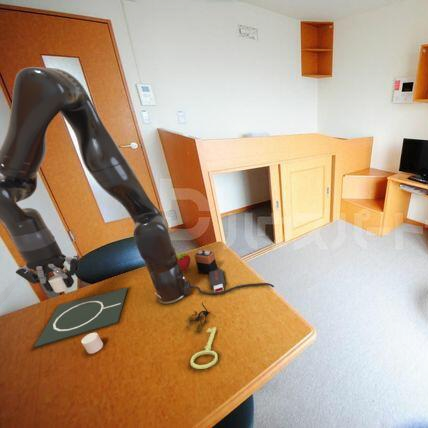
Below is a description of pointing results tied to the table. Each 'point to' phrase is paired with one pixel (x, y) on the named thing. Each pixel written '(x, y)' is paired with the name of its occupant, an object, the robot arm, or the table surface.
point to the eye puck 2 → (92, 343)
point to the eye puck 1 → (57, 283)
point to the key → (206, 352)
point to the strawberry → (183, 261)
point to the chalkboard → (83, 316)
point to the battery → (205, 261)
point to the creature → (199, 317)
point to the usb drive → (217, 280)
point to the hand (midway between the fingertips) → (62, 287)
